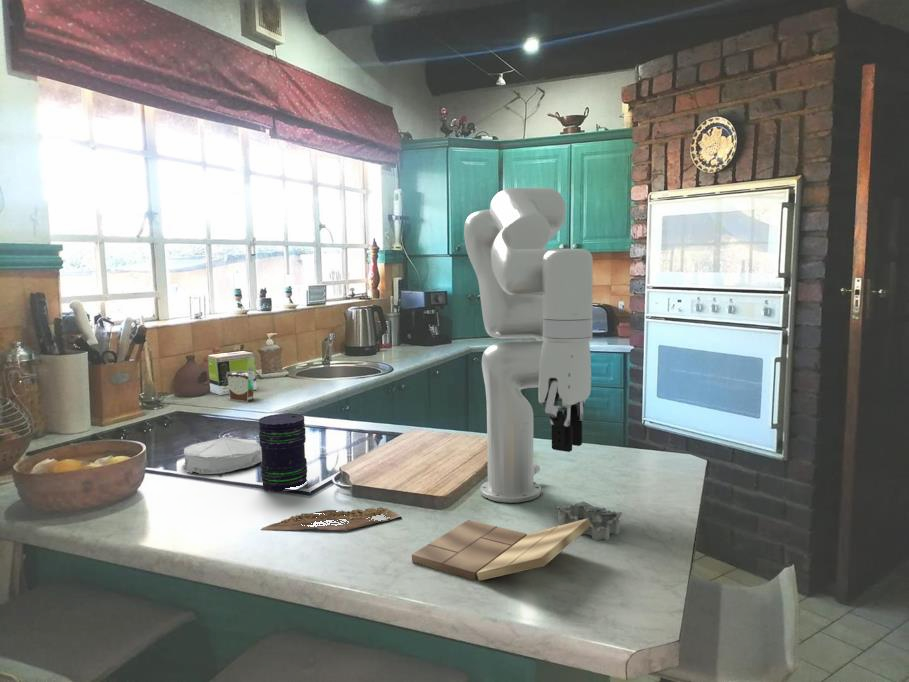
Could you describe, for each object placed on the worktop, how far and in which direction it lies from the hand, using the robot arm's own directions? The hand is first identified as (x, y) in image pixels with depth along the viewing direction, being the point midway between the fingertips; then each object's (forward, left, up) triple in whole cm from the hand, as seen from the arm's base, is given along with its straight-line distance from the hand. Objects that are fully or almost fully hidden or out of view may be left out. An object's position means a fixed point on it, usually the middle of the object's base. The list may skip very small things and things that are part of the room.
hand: (567, 446), depth 104 cm
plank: (+4, -3, -17) cm, 17 cm away
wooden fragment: (+7, -45, -20) cm, 49 cm away
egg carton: (-15, -3, -20) cm, 25 cm away
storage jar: (-3, -69, -19) cm, 71 cm away
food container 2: (-61, -154, -19) cm, 166 cm away
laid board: (+4, -16, -19) cm, 25 cm away
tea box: (-69, -171, -20) cm, 185 cm away
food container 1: (-7, -95, -20) cm, 97 cm away
